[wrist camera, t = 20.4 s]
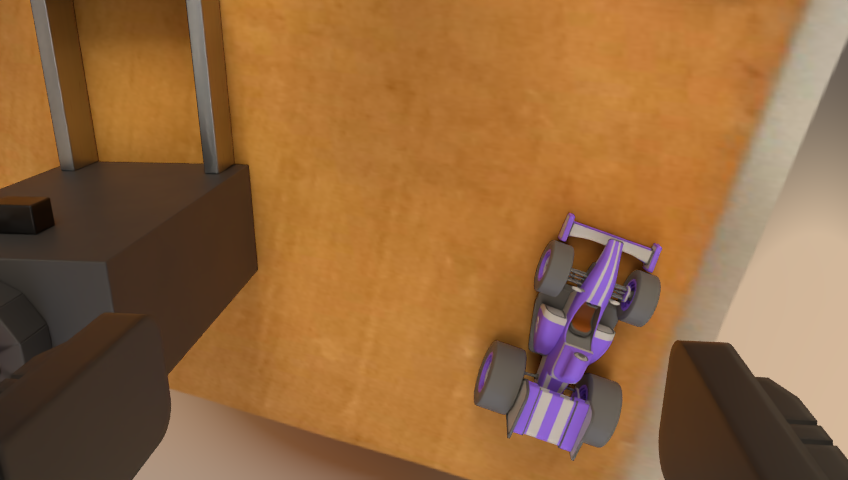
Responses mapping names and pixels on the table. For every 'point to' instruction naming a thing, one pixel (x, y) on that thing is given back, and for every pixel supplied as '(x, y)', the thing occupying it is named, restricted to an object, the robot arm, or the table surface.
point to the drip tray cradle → (74, 110)
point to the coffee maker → (125, 254)
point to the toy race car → (570, 344)
